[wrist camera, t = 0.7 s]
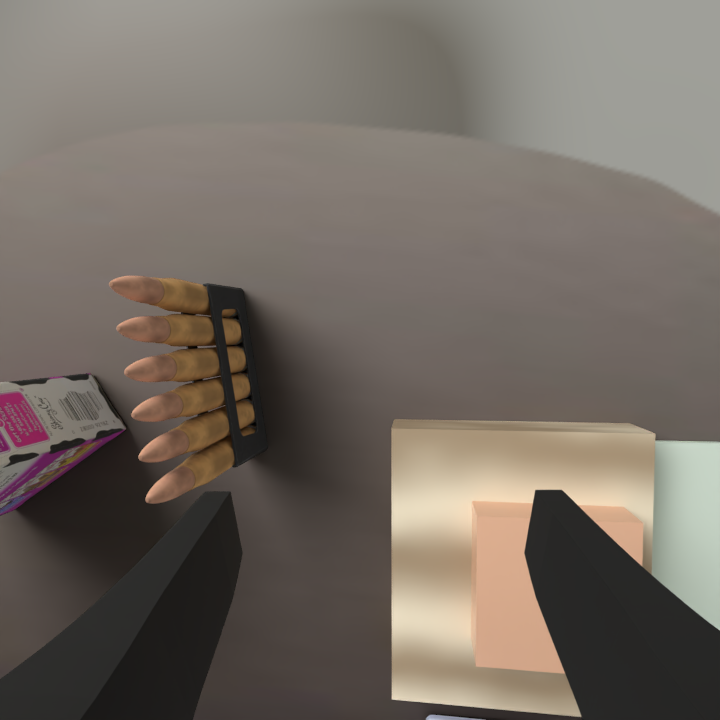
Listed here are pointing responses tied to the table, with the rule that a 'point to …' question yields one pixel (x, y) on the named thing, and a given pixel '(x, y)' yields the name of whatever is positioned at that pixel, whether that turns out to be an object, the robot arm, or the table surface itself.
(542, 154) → the table surface
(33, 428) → the candy bar box
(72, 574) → the table surface
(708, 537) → the mat
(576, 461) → the riser
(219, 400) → the ammunition clip
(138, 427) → the table surface
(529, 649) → the peach flat block
